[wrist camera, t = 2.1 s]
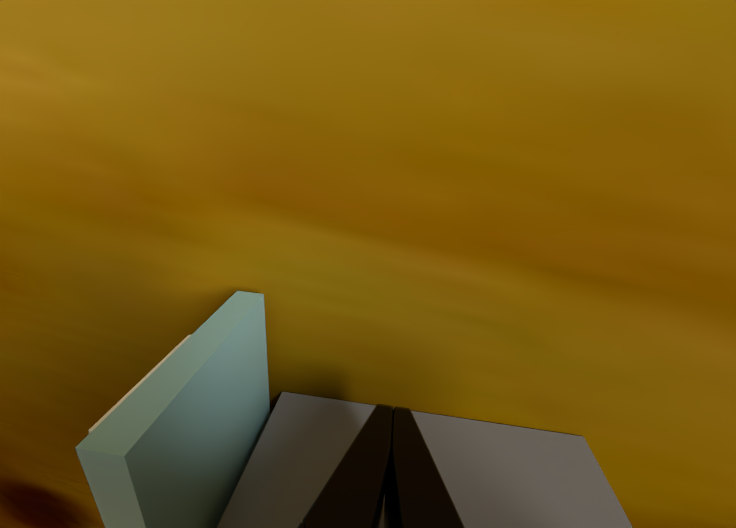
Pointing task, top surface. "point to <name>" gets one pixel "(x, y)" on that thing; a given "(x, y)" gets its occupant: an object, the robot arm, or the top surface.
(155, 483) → the side door
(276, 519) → the block
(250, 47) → the top surface
